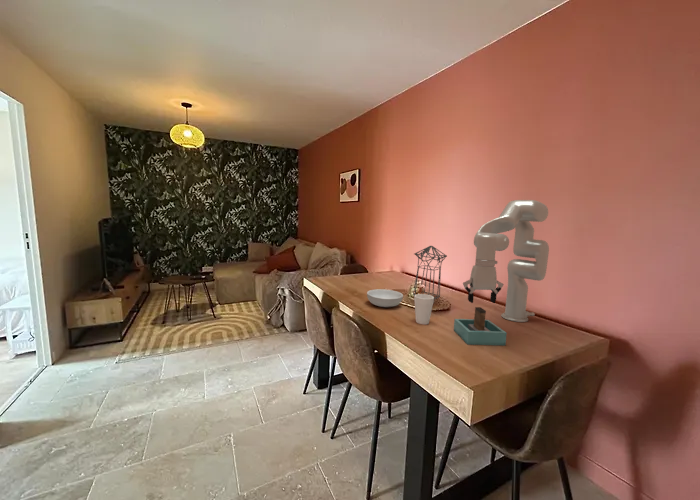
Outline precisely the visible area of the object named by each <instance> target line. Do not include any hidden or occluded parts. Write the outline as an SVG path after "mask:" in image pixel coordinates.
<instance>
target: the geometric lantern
mask: <svg viewBox="0 0 700 500" xmlns="http://www.w3.org/2000/svg"><path fill="white" fill-rule="evenodd" d="M430 251H432V253H430ZM440 253H441V254H440ZM425 254H426V255H425ZM413 255H415V256H416V258H417V260H418V261H417V268H416V269H417V271H416V276H415V282H414V287H413V291H412V296H415V295H416V293H417V286H418V278H419V269H423V272H422V278H421V285H422V286H423V281H424V275H425V281H424V288H423V289H424V290H423V292H424V294H427V295H431V296H433V297H434V296H435V297H434V301H435V300H436V299H439V298H441V275H442V274H441V270H442V265H443V264H442V263H443V261H444V260H445V259H446V258H447V257H448V255H447V254H445V253H444V252H442V251H440V249H438V248H437V247H435V246H433V245H429V246H427V247H425V248H423V249H420V250H419V251H417V252H415V253H413ZM423 258H429V259H425V260H424V259H423ZM420 260H421V262H420ZM433 260H434V261H436V262H437V264H435V266H433V265H432V266H431V265H430V263H431V262H432V261H433ZM425 262H426V263H425ZM419 263H420V264H419ZM422 263H423V264H424V265H421V264H422ZM426 264H427V265H426ZM437 266H438V267H437ZM426 267H427V268H426ZM432 268H433V269H432ZM428 270H429V271H430V273H429V281H428V282H429V284H428V291H427V292H426V287H427V278H428ZM438 270H439V271H438ZM425 271H426V274H425ZM432 271H433V276H432ZM435 271H438V279H437V280H438V281H437V293H436V294H435V292H434V291H435V289H434V288H435V274H436V273H435ZM432 277H433V278H432ZM431 280H432V292H430V291H431ZM421 285H420V286H421Z"/></svg>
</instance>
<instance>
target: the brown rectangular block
mask: <svg viewBox="0 0 700 500" xmlns="http://www.w3.org/2000/svg"><path fill="white" fill-rule="evenodd" d="M486 312H487V310H485V309H484V308H483V307H481V306H480V307H479V306H477V307H476V306H475V308H474V327H475V328H477V329H478V330H484V326H485V320H486V314H487V313H486Z"/></svg>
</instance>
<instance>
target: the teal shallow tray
mask: <svg viewBox="0 0 700 500" xmlns="http://www.w3.org/2000/svg"><path fill="white" fill-rule="evenodd" d="M453 332H455V333H456V335H458V336H459V338H461V340H463V342H464V343H465V344H466V345H469V346H470V345H471V346H472V345H473V346H476V345H477V346H478V345H479V346H506V343H507V333H508V332H506V331H505V330H503V329H502V328H501V327H499V326H498V325H497V324H495V323H494V322H492V321H491V320H490V319H485V326H484V330H478V329H477V328H475V327H474V319H471V318H470V319H469V318H454V322H453Z"/></svg>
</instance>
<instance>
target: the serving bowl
mask: <svg viewBox="0 0 700 500" xmlns="http://www.w3.org/2000/svg"><path fill="white" fill-rule="evenodd" d="M366 297H367V300H368V301H369V302H370V303H371V304H372V305H375V306H378V307H381V308H391V307H397V306H398V305H399V304H401V302H402V301H403V298H404V295H403V293H402V292H400V291H396V290H392V289H385V288H383V289H382V288H379V289H377V288H376V289H370V290H367V292H366Z"/></svg>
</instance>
